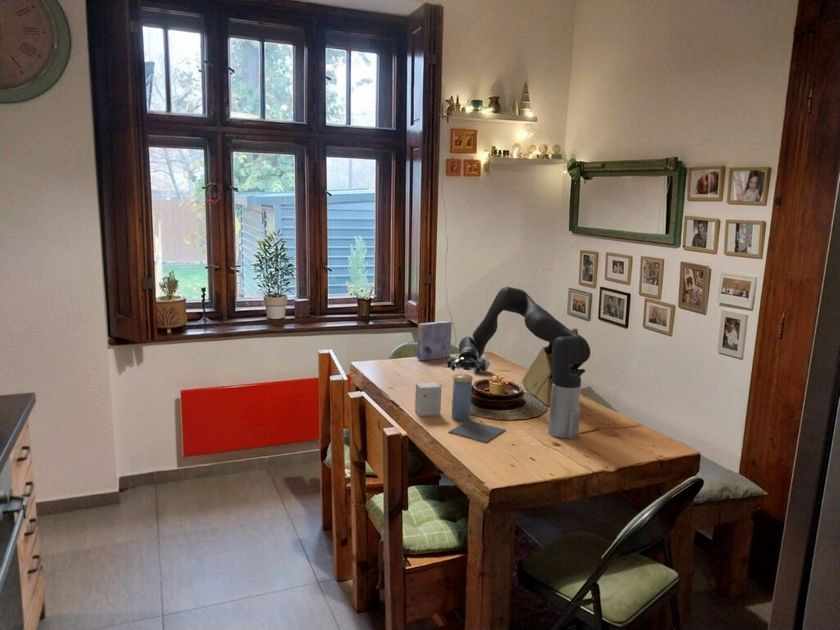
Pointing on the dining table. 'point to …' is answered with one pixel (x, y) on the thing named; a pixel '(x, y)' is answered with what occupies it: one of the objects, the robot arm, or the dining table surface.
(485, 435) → the mat
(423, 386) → the small box
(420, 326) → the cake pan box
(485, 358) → the die
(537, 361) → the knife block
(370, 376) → the dining table surface
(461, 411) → the jar
